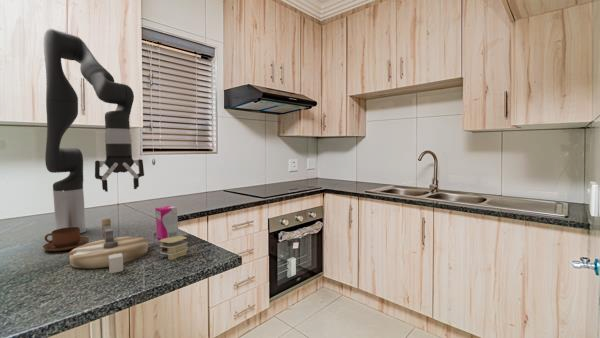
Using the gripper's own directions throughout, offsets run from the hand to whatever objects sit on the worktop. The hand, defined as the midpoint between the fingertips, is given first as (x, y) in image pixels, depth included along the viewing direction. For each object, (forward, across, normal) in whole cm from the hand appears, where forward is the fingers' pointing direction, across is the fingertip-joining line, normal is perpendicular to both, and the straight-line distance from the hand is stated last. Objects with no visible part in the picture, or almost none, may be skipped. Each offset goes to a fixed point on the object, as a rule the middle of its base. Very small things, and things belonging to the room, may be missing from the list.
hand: (121, 190), depth 101 cm
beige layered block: (+19, -11, +24) cm, 32 cm away
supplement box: (+19, -13, +4) cm, 23 cm away
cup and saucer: (+19, +16, -7) cm, 26 cm away
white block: (+18, +4, +26) cm, 32 cm away
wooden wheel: (+18, +4, +10) cm, 21 cm away
